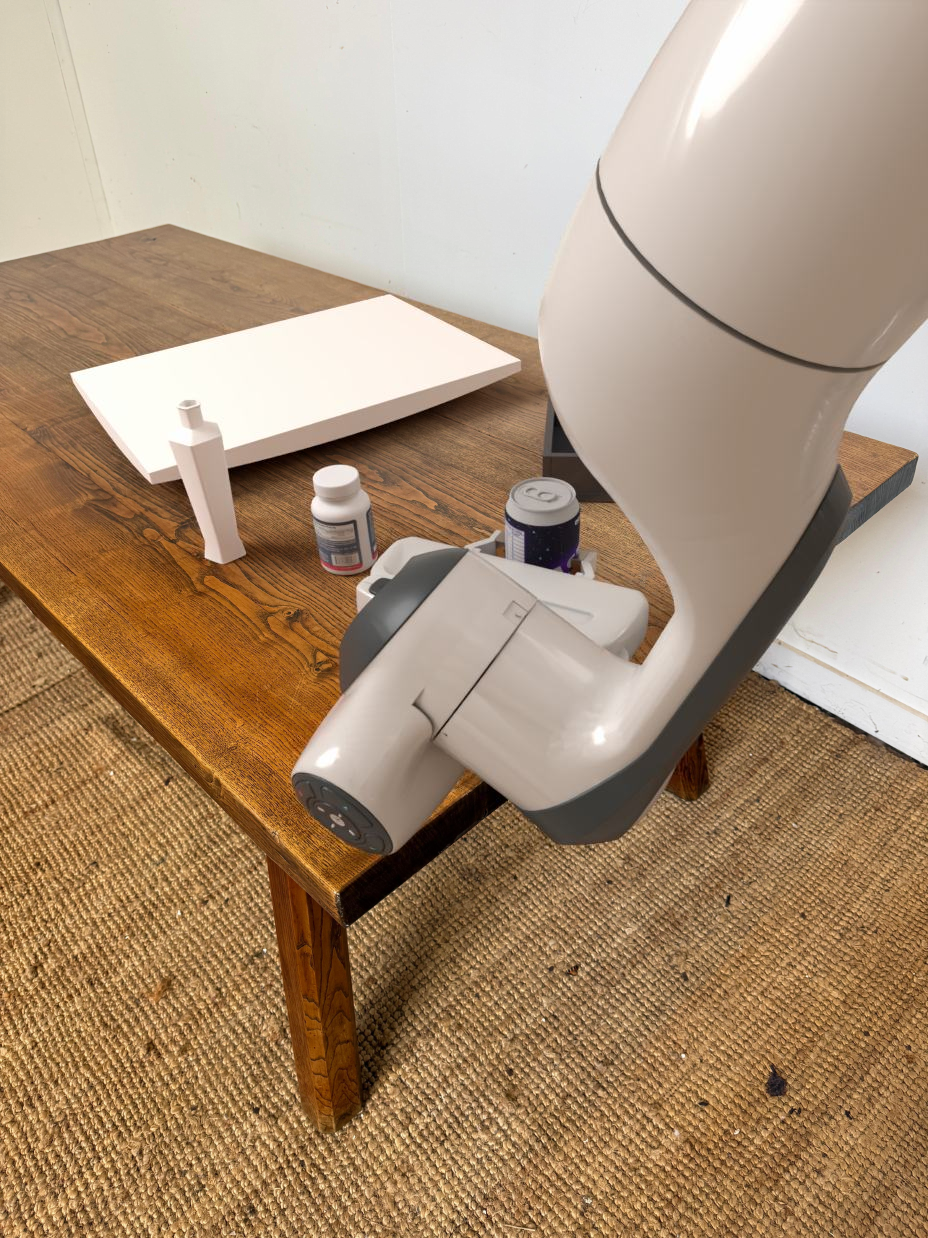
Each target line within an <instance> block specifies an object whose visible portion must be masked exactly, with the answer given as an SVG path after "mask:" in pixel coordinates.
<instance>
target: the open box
mask: <svg viewBox="0 0 928 1238" xmlns="http://www.w3.org/2000/svg"><path fill="white" fill-rule="evenodd" d="M545 414H546V415H545V424H544V425H545V426H544V435H543V436H544V437H543V447H542V468H541V469H542V473H541V474H542V476H541V477H547V478H555V479H559V480H562V481H565V482H567V483H568V484H570V485H571V486H572V487H573V488H574V490H575V492H576V499H577V501H578V502H579V503H615V501H614V500H613V499H612V498H611V497H610V495H609V494H608V493H607V492H606V490H605V489H604V488H603V487H602V486H601V484H600V483H599V482H598V481H597V480H596V478H595V477H594V476H593V475H592V474H591V472H590V471H589V470H588V469H587V467H586V466H585V465H584V463H583V462H582V460H581V459H580V458H579V456H578V454H577V453H576V451H575V450H574V448H573V446H572V444H571V443H570V441H569V439H568V437H567V436H566V434H565V432H564V430H563V428H562V426H561V424H560V422H559V419H558V417H557V415H556V412H555V409H554V407H553V404H552V401H551V398H550V395H549V392H548V393H547V405H546V413H545Z"/></svg>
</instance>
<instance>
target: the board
mask: <svg viewBox="0 0 928 1238" xmlns="http://www.w3.org/2000/svg"><path fill="white" fill-rule="evenodd" d="M521 371H522V360H521V359H520V358H517V357H515V356H513V355H512V354H510V353H507V352H506V351H503V350H501V349H500V348H498V347H496V346H493V345H491V344H489V343H487V342H485V341H484V340H482V339H479V338H478V337H476V336H474V335H472V334H470V333H468V332H466V331H463V330H462V329H460V328H458V327H455V326H454V325H451V324H450V323H449V322H445V321H444V320H442V319H440V318H438V317H435V316H434V315H432V314H430V313H428V312H426V311H425V310H422V309H420V308H418V307H416V306H414V305H412V304H410V303H408V302H407V301H405V300H402V299H400V298H398V297H396V296H394V295H392V294H390V293H389V294H385V295H380V296H377V297H372V298H369V299H365V300H364V299H363V300H361V301H356V302H352V303H348V304H343V305H340V306H337V307H332V308H328V309H324V310H320V311H316V312H312V313H308V314H304V315H299V316H296V317H295V316H294V317H291V318H287V319H284V320H279V321H275V322H272V323H271V322H270V323H268V324H263V325H259V326H255V327H251V328H247V329H244V330H243V329H242V330H239V331H235V332H231V333H227V334H223V335H222V334H221V335H219V336H214V337H210V338H206V339H203V340H199V341H195V342H191V343H187V344H182V345H179V346H174V347H171V348H167V349H161V350H158V351H154V352H150V353H147V354H146V353H145V354H141V355H138V356H133V357H129V358H126V359H122V360H118V361H113V362H110V363H105V364H102V365H98V366H93V367H90V368H86V369H82V370H81V369H80V370H77V371H74V372H70V373H69V374H70V377H71V380H72V382H73V384H74V386H75V389H77V391H78V393H79V395H80V396H81V397H82V398H83V400H84V401H85V403H86V405H87V406H88V408H89V409H90V411H91V412H92V414H93V415H94V417H95V418H96V419H97V421H98V422H99V424H100V425H101V426H102V428H103V429H104V431H105V432H106V433H107V434H108V436H109V438H111V440H112V441H113V443H115V445H116V446H117V447H118V449H119V451H121V453H123V455H124V456H125V457H126V458H127V460H128V461H129V462H130V463H131V464H132V465H133V467H134V468H135V469H136V470H137V471H138V472H139V473H140V474H141V475H142V476H143V477H144V478H145V479H146V480H147V481H148V482H149V483H150V484H151V485H156V484H157V485H158V484H162V483H168V482H173V481H176V480H180V479H181V480H182V477H181V474H180V471H179V469H178V466H177V463H176V460H175V458H174V455H173V452H172V449H171V447H170V444H169V441H168V438H169V437H170V436H171V435H172V434H174V433H175V432H176V431H177V430H178V429H179V428H180V427H181V426H182V424H181V420H180V416H179V412H178V409H177V408H176V407H175V405H176V404H177V403H179V402H180V401H181V400H183V399H195V398H198V399H199V400H200V402H201V405H200V408H201V412H202V416H203V420H204V421H210V422H216V423H217V424H218V426H219V429H220V431H221V434H222V439H223V445H224V451H225V457H226V463H227V469H232V468H235V467H239V466H243V465H248V464H251V463H255V462H259V461H262V460H266V459H271V458H275V457H278V456H282V455H286V454H289V453H294V452H297V451H301V450H304V449H307V448H308V449H309V448H311V447H314V446H318V445H322V444H326V443H329V442H332V441H336V440H338V439H342V438H346V437H348V436H352V435H355V434H357V433H360V432H365V431H367V430H370V429H373V428H376V427H379V426H382V425H385V424H388V423H391V422H394V421H397V420H400V419H403V418H406V417H409V416H411V415H414V414H417V413H420V412H423V411H425V410H428V409H430V408H434V407H436V406H439V405H441V404H444V403H446V402H447V403H448V402H450V401H453V400H454V399H457V398H459V397H462V396H464V395H467V394H470V393H471V392H474V391H477V390H480V389H481V388H484V387H487V386H489V385H491V384H494V383H496V382H499V381H502V380H503V379H505V378H507V377H510V376H512V375H514V374H517V373H519V372H521Z"/></svg>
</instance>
